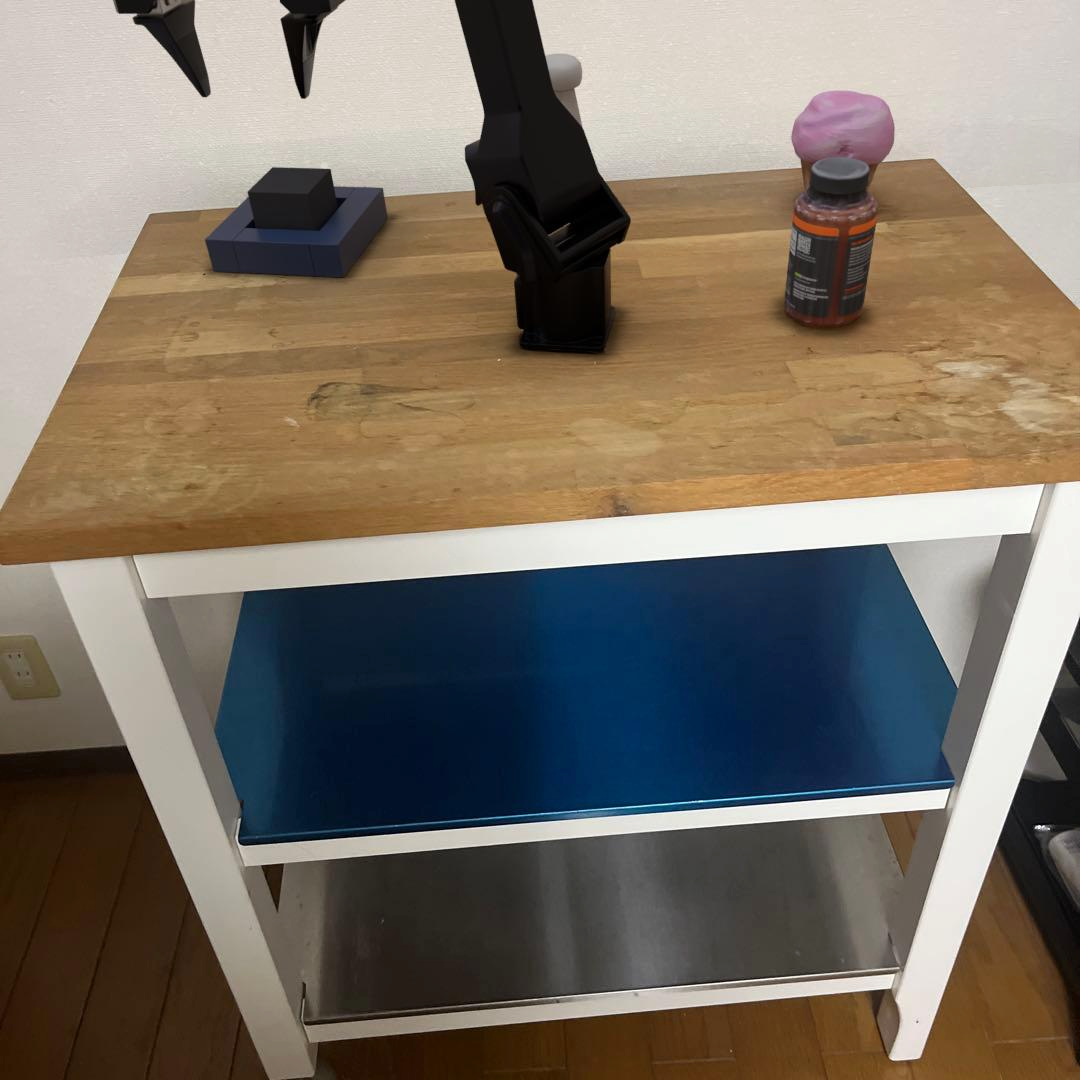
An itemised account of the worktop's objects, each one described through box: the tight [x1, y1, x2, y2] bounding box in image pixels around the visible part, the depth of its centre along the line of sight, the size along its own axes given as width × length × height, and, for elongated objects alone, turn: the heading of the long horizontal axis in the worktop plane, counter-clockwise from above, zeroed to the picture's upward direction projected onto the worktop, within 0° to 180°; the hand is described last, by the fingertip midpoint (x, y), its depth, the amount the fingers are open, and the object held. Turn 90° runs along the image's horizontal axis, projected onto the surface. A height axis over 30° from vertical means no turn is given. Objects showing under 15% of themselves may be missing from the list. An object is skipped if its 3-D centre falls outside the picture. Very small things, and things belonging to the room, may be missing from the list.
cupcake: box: [790, 90, 895, 192], centre depth 91 cm, size 9×9×10 cm
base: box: [204, 185, 389, 278], centre depth 93 cm, size 12×12×3 cm
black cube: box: [247, 166, 338, 231], centre depth 92 cm, size 6×6×6 cm
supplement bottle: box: [783, 157, 879, 328], centre depth 76 cm, size 6×6×11 cm
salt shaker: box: [545, 53, 583, 127], centre depth 94 cm, size 6×6×13 cm
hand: (255, 96), depth 89 cm, fingers open, 9 cm apart
